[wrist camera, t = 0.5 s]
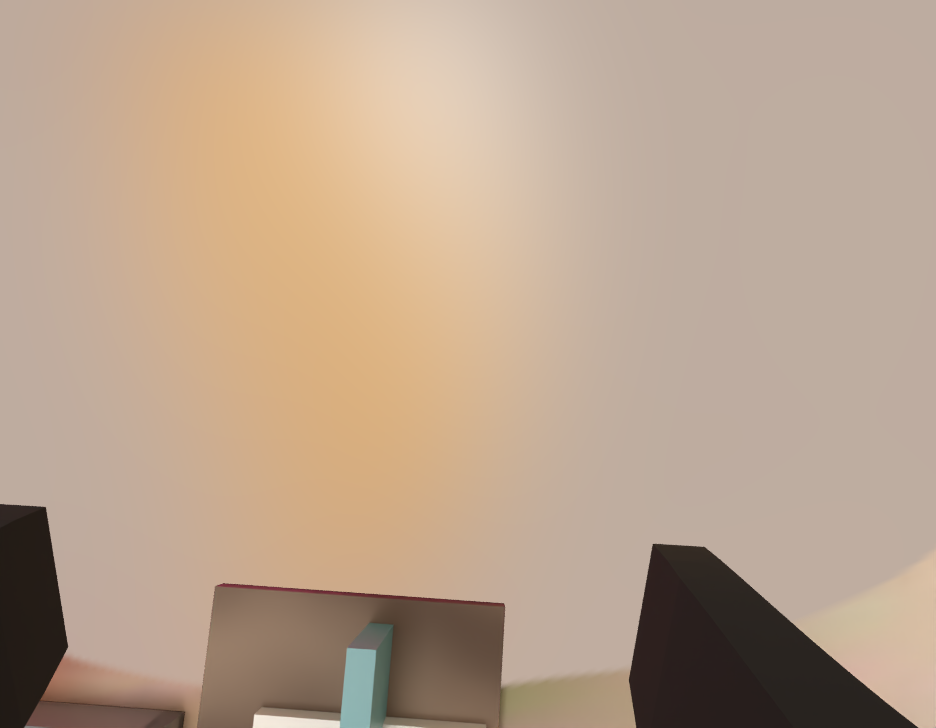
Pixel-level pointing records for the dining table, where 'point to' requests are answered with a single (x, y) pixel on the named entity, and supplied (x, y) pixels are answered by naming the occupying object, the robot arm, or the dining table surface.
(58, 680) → the dining table surface
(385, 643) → the cream ring
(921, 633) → the dining table surface
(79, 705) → the charcoal tray
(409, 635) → the walnut plate
